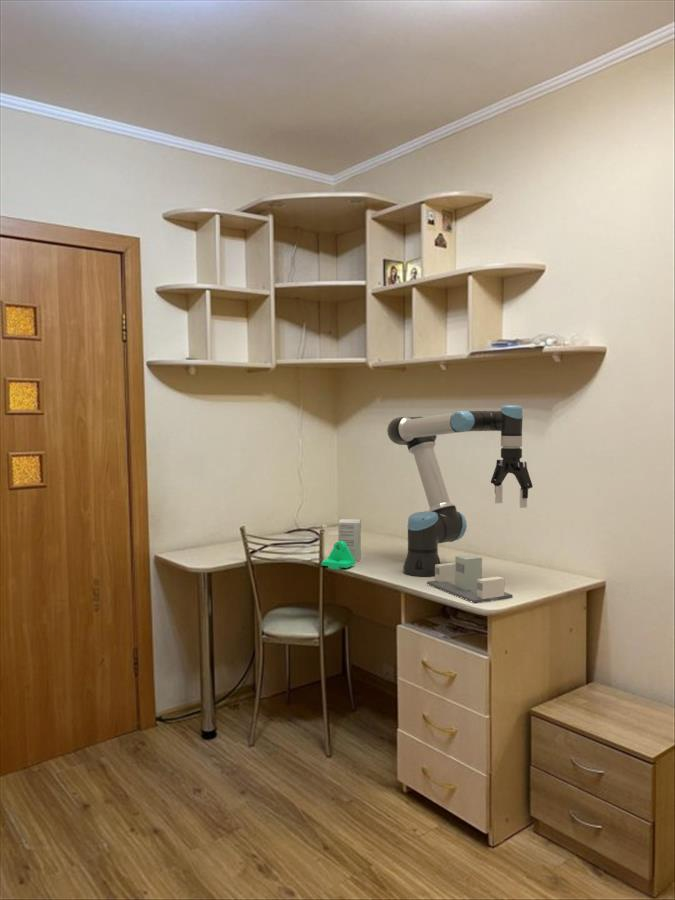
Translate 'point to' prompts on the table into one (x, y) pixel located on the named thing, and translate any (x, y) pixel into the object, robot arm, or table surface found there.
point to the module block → (467, 571)
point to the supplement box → (351, 536)
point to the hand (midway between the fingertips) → (510, 505)
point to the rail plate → (484, 592)
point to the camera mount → (339, 557)
